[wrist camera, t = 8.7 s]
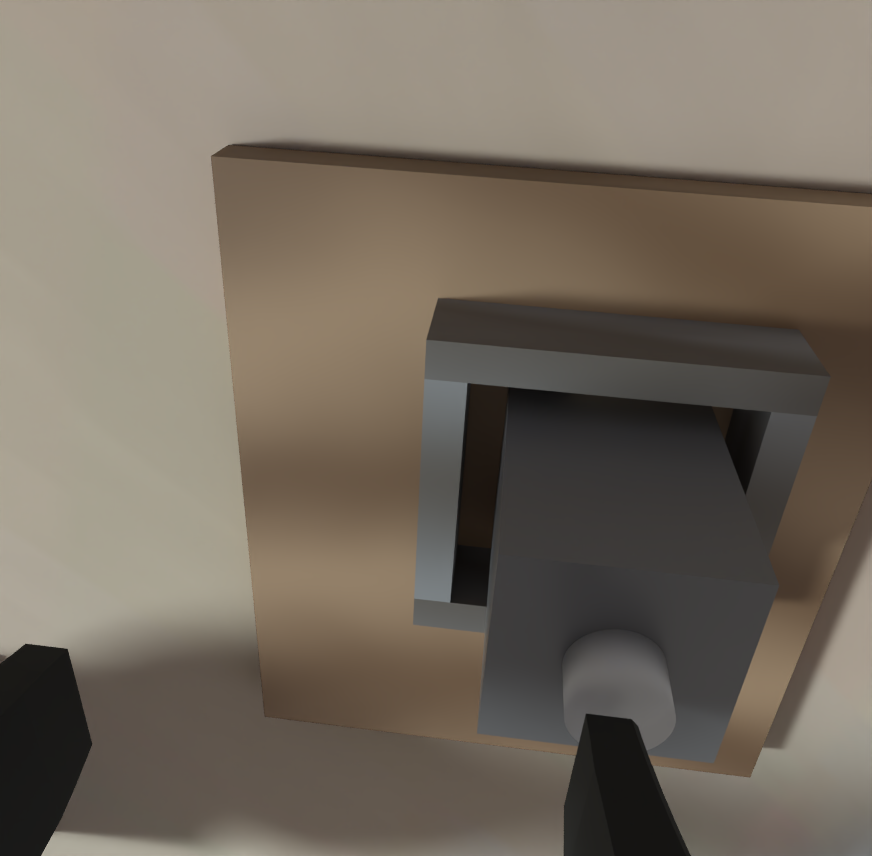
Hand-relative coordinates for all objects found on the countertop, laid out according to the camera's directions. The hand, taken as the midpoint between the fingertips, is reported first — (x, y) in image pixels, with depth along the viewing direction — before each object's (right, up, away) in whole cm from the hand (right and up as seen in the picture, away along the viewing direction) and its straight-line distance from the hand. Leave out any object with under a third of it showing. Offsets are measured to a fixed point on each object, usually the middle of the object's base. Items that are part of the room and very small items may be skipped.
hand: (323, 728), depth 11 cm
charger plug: (+5, +4, +6) cm, 9 cm away
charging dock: (+4, +2, +8) cm, 10 cm away
